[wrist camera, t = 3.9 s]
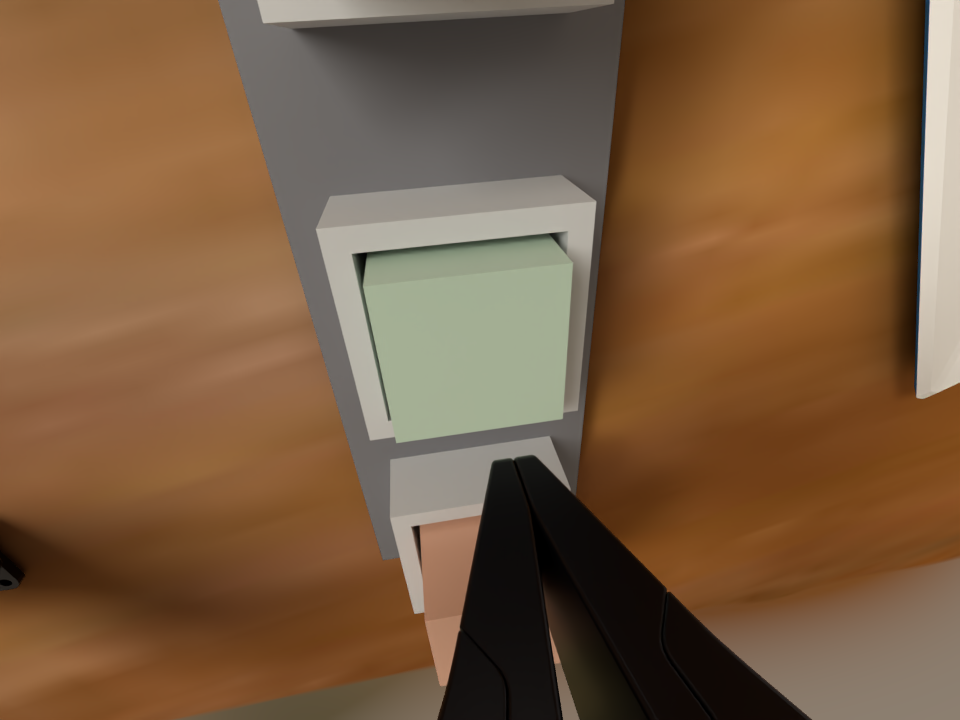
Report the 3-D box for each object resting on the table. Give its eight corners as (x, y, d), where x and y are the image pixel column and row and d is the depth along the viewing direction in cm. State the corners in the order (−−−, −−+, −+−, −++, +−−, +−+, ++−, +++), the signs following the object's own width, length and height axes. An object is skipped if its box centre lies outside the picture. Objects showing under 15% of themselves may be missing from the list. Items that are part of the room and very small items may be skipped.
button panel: (383, 546, 24) (381, 619, 21) (93, -471, 8) (-104, -811, 5) (568, 515, 25) (592, 581, 22) (652, -446, 9) (793, -717, 6)
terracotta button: (432, 587, 21) (440, 686, 18) (419, 519, 18) (424, 621, 15) (539, 569, 22) (565, 661, 18) (541, 499, 19) (572, 594, 16)
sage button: (395, 365, 17) (396, 443, 13) (370, 230, 14) (363, 286, 11) (530, 348, 17) (562, 419, 14) (532, 214, 14) (573, 262, 11)
